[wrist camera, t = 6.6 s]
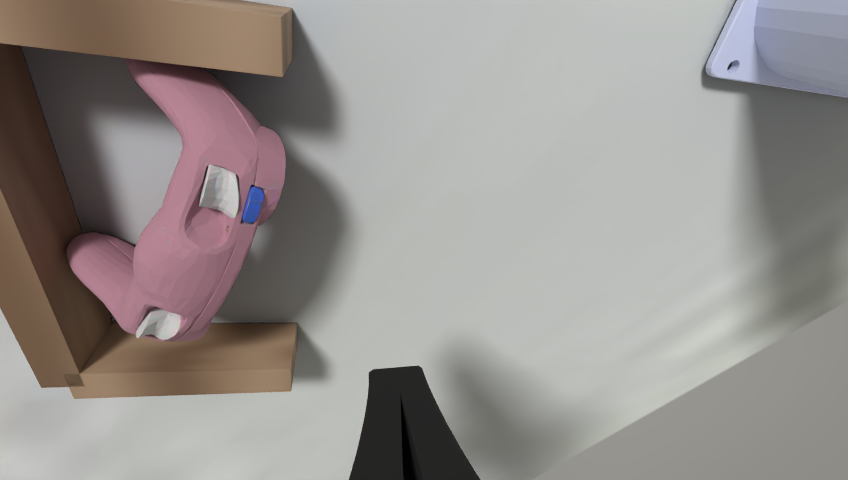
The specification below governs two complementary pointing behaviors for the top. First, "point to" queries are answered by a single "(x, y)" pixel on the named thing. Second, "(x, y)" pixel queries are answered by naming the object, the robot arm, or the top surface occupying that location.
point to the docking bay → (57, 221)
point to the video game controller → (188, 212)
